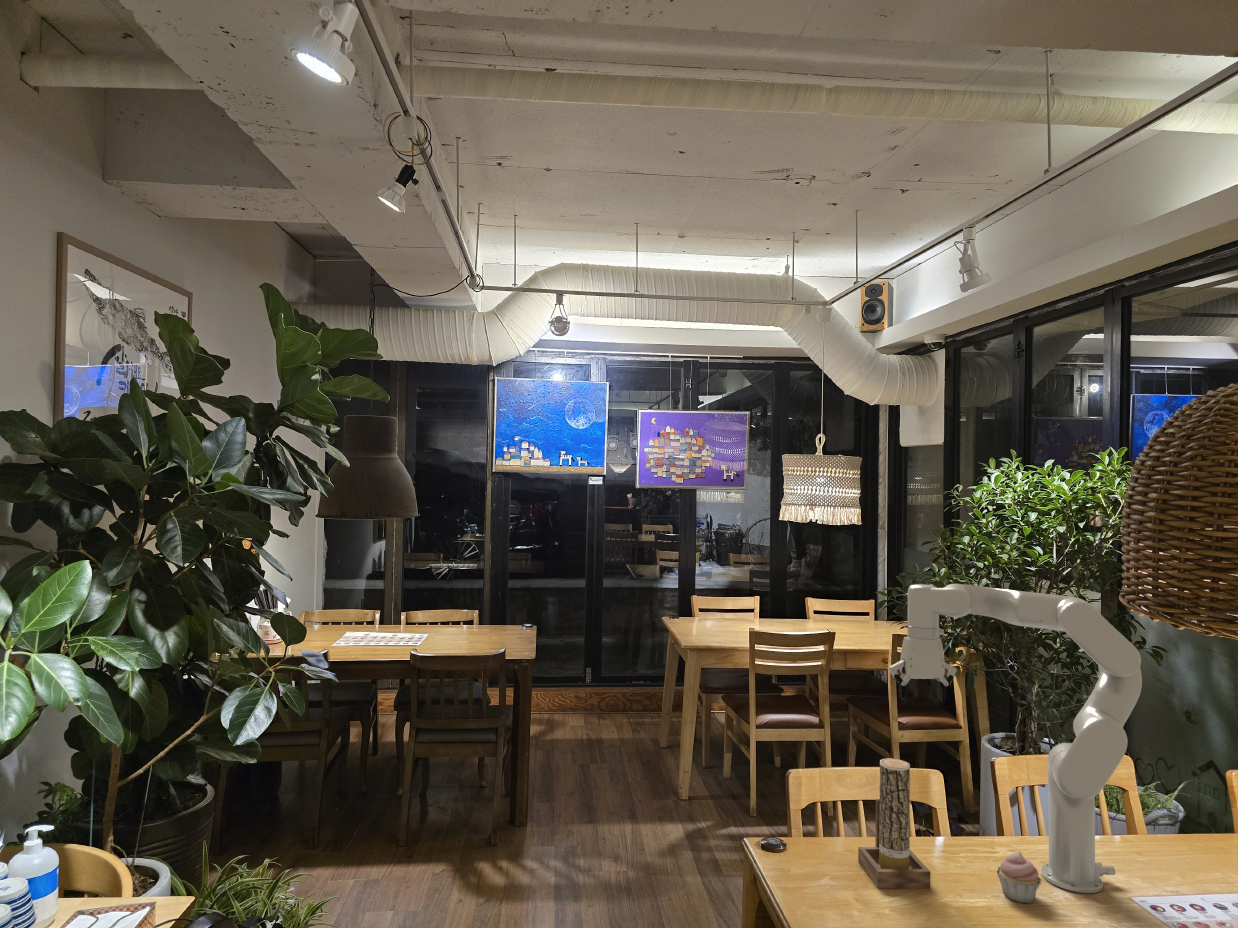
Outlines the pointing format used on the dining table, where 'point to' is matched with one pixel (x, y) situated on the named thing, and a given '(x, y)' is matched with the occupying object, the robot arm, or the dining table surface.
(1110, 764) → the robot arm
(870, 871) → the holder
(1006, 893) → the cupcake
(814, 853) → the dining table surface
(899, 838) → the paper tube
